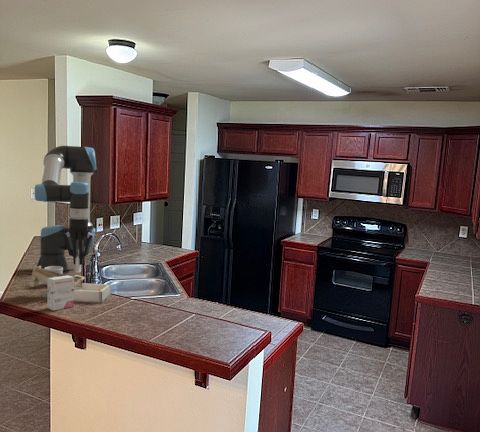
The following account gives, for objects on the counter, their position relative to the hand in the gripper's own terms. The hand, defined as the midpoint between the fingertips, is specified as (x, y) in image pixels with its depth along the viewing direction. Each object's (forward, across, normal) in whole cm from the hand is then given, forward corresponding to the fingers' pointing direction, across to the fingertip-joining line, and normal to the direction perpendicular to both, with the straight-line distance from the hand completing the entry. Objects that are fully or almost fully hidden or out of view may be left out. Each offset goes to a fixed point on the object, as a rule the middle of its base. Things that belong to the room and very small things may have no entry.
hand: (78, 271), depth 195 cm
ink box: (+8, +2, -24) cm, 26 cm away
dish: (+8, +9, -10) cm, 16 cm away
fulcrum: (+9, -7, -9) cm, 14 cm away
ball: (+6, +13, -9) cm, 17 cm away
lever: (+6, -7, -5) cm, 11 cm away
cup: (+9, -15, +7) cm, 19 cm away
